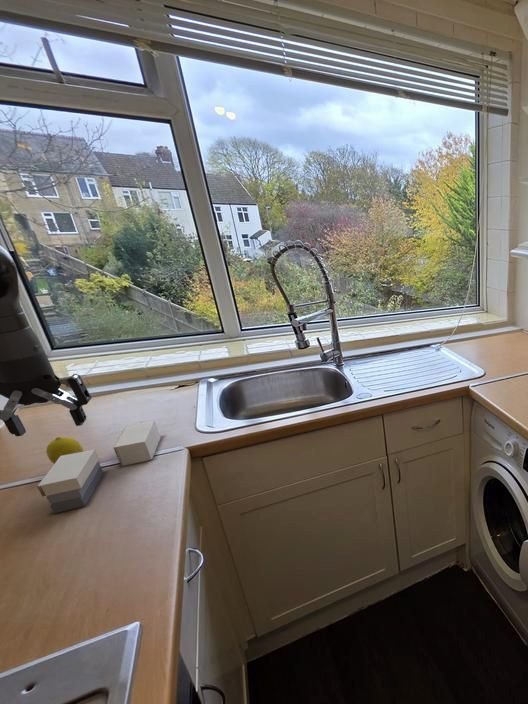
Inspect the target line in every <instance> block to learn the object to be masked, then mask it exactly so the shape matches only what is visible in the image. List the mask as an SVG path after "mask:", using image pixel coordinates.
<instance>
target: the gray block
mask: <svg viewBox="0 0 528 704" xmlns="http://www.w3.org/2000/svg"><path fill="white" fill-rule="evenodd" d="M103 475H104V470H103V469H102V467H101V464H100V462H99V460H98V461H97V463H96V465H95V466H94V468H93V470H92V471H91V473H90V475H89V476H88V478H87V480H86V481H85V483H84V485H83V486H82V488H80V489H76V490H71V491H67V492H62V493H58V494H53V495H49V496H46V499H47V500H48V502H49V507H50V509H51V510H52V512H53V514H58V513H62V512H66V511H70V510H75V509H79V508H83V507H86V505H87V504H88V502H89V500H90V498H91V496H92V495H93V493H94V491H95V489H96V487H97V486H98V484H99V482H100V480H101V478H103Z"/></svg>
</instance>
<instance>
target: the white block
mask: <svg viewBox="0 0 528 704" xmlns="http://www.w3.org/2000/svg"><path fill="white" fill-rule="evenodd" d="M161 438H162V436H161V434H160V431H159V428H158V426H157V423H156V421H155V420H154V419H153V420H149V421H142V422H137V423H131V424H126V425H125V427H124V428H123V429H122V432H121V434H120V435H119V438H118V439H117V441H116V442H115V444H114V445H113V450H114V452H115V455H116V457H117V460H118V462H119V464H120V466H121V467H124V466H128V465H129V466H130V465H134V464H138V463H143V462H148V461H152V459H153V458H154V455H155V452H156V450H157V448H158V446H159V444H160V440H161Z"/></svg>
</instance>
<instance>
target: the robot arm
mask: <svg viewBox="0 0 528 704" xmlns="http://www.w3.org/2000/svg"><path fill="white" fill-rule="evenodd" d="M20 296H21V294H20V284H19V275H18V268H17V265H16V262H15V259H13V257H12V255H11V254H10V253H9V252H8V250H7V249H6V248H5V247H3V246H2V245H0V396H2V397H4V398H6V399H8V400H7V402H6V403H5V405H4V406H3V409H0V420H1V421H2V422H3V423H4V426H5V427H6V429H7V430H8V432H9V434H11V435H14V436H15V437H22V436H24V435H25V434H26V433H27V430H26V427H25V426H24V424H23V422H22V420H21V418H20V416H19V415H18V414H16V412H17V410H18V409H19V407H20V406H21V405H23V406H24V407H25V406H31V405H33V404H47V403H48V402H52V403H54V404H56V405H61V406H63V407H64V408H67V409H69V410H68V412H69V414H70V417H71V418H72V421H73V423H74V424H75V426H76V427H80V426H83V425H84V423H85V422H86V420H87V415H86V412H85V410H84V408H83V406H87V405H88V404H89V402H90V401H91V400H92V398H93V397H92V395H91V394H90V392H89V390H88V388H87V386H86V384H85V383H84V381H83V379H82V376H81V375H80V374H78V373H73V374H72V375H70V376H66V377H65V376H64V377H59V376H57V374H55V371H54V369H53V366H52V364H51V361H50V360H49V358H48V356H47V353H46V351H45V349H44V347H43V345H42V343H41V340H40V339H39V337H38V335H37V333H36V332H35V330H33V327H32V326H31V324H30V322H29V320H28V318H27V315H26V314H25V312H24V308H23V307H22V306H21V305H22V304H21V300H20V299H21V298H20ZM62 385H64V386H65V387H66V388H69V389H71V391H72V392H73V394H74V395H75V397H74V396H72V395H71V394H70V393H69V392H67V391H65V390H63V389H62V388H60V387H62Z"/></svg>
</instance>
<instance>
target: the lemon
mask: <svg viewBox="0 0 528 704" xmlns="http://www.w3.org/2000/svg"><path fill="white" fill-rule="evenodd" d="M78 452H84V449H83V446H82V445H81V443H80V442H79V441H78V440H76V439H74V438H73V437H68V436H57V437H56V438H55V439H53V440H51V441H50V442H49V443H48V445H47V446H46V455H47V458H48V460H49V461H50V462H51V463H52V464H53V465H54V464H55V462H56V461H57V460H58V458H59V457H60V456H63V455H68V454H73V453H78Z"/></svg>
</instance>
